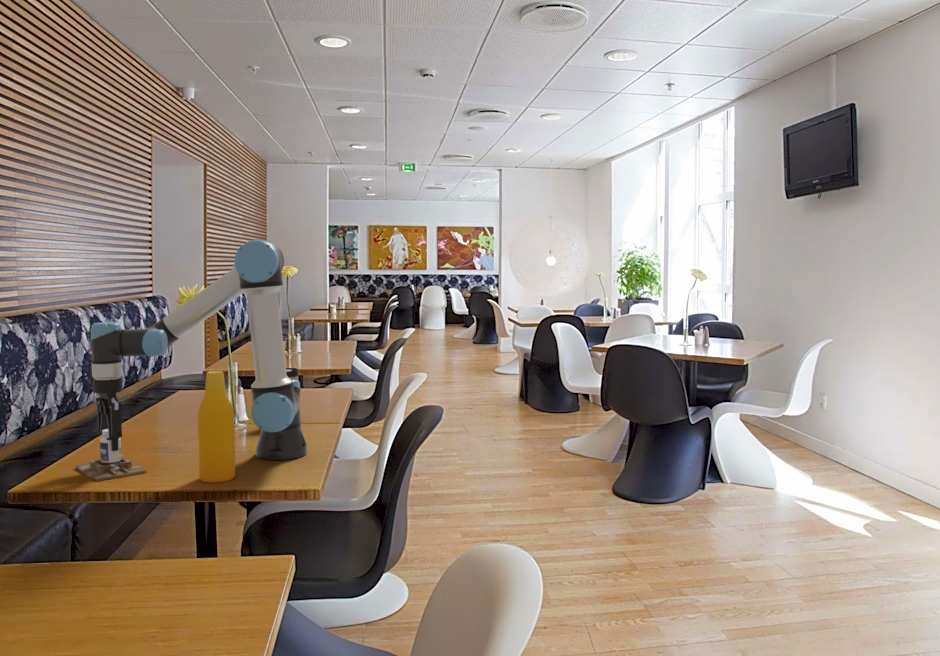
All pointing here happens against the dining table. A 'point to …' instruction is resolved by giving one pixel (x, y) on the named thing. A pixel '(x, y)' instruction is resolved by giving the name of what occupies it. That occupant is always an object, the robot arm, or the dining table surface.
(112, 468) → the organizer
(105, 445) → the pill bottle
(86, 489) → the dining table surface
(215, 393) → the beer bottle
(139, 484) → the dining table surface
